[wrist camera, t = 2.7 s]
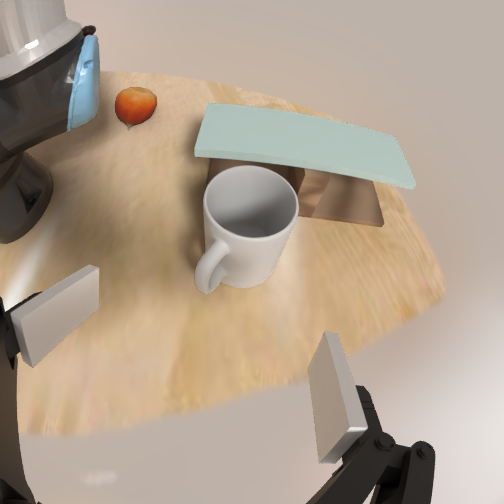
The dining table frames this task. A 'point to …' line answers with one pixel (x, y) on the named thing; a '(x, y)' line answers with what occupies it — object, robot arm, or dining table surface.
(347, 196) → the fulcrum stand
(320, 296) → the dining table surface
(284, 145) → the plank
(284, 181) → the mug
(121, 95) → the fruit
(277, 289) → the dining table surface
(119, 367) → the dining table surface
